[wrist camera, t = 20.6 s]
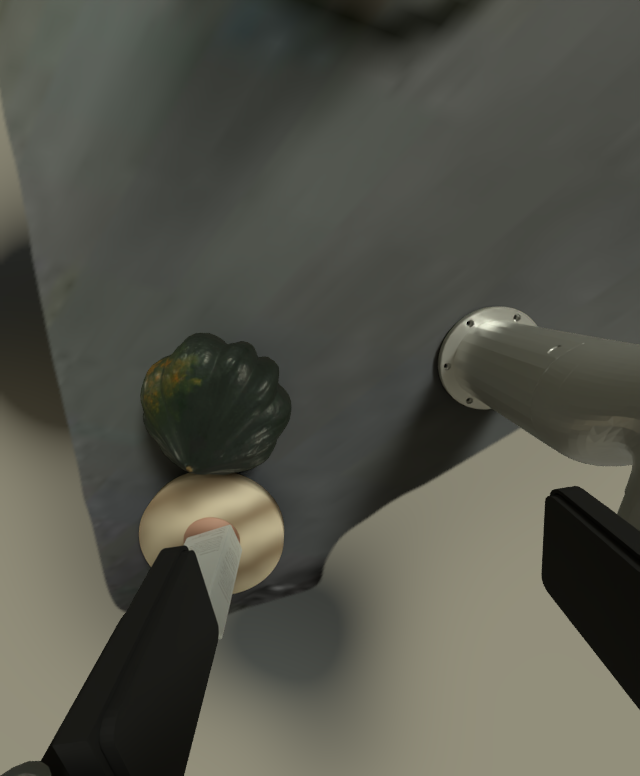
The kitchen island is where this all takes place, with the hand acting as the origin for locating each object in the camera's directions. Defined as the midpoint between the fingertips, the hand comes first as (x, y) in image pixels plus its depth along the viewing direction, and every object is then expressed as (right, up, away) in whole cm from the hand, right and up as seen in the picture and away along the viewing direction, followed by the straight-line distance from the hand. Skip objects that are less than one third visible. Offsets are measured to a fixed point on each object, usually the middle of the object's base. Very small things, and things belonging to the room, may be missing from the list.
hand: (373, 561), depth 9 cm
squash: (-12, +4, +33) cm, 35 cm away
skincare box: (-15, -15, +34) cm, 40 cm away
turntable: (-15, -14, +36) cm, 42 cm away
